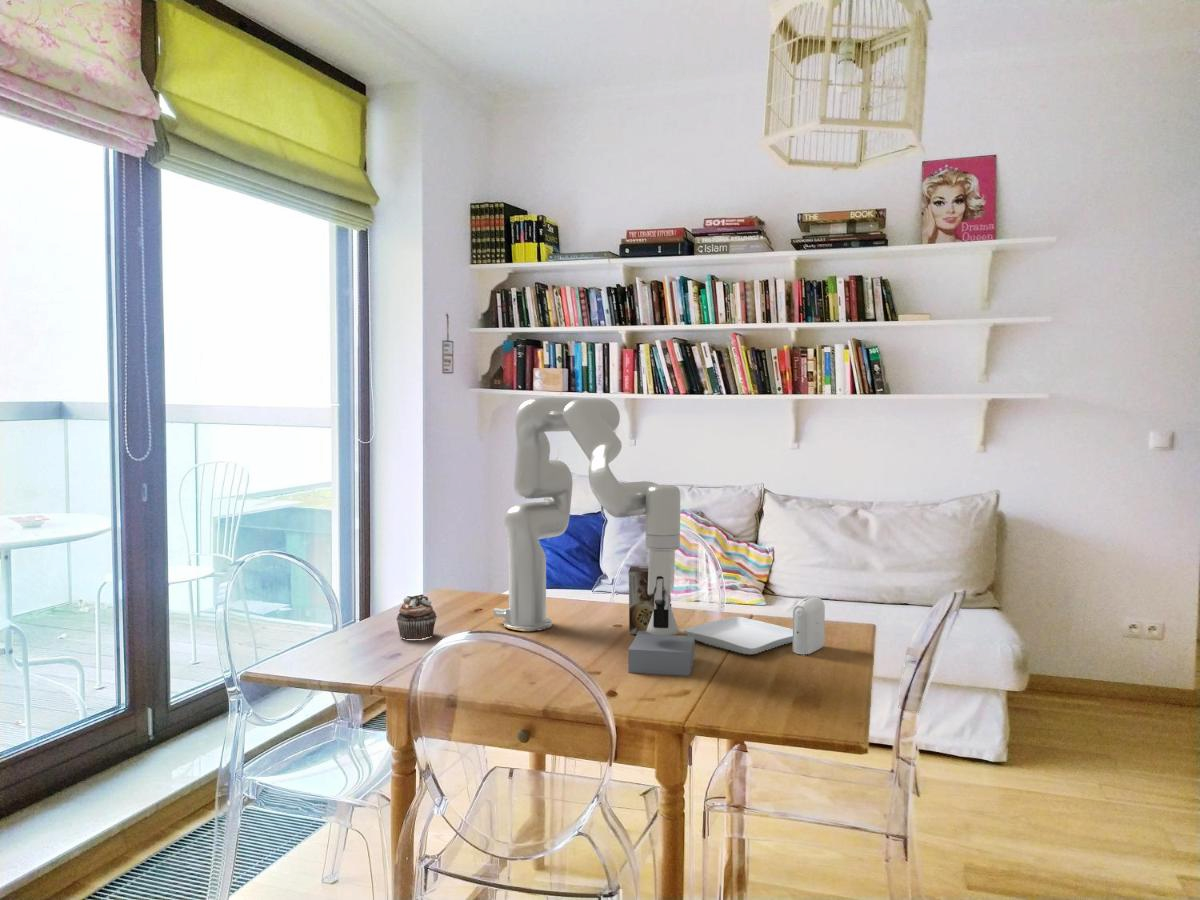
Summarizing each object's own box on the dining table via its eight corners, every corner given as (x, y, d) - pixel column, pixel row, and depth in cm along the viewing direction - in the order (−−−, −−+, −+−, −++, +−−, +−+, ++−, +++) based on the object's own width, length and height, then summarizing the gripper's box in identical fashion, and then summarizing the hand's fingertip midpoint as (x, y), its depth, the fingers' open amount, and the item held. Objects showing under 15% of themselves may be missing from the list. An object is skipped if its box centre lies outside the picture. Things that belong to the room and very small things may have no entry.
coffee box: (665, 629, 225) (666, 566, 224) (665, 635, 218) (665, 571, 218) (629, 628, 226) (630, 565, 225) (628, 634, 219) (628, 570, 218)
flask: (643, 628, 197) (644, 583, 197) (676, 627, 198) (676, 583, 197) (648, 637, 190) (648, 590, 189) (681, 636, 191) (682, 590, 190)
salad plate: (806, 644, 212) (806, 630, 212) (752, 662, 198) (752, 647, 198) (736, 627, 228) (736, 614, 228) (680, 643, 213) (681, 629, 213)
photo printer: (807, 657, 201) (807, 603, 200) (789, 653, 203) (790, 600, 203) (826, 647, 209) (827, 595, 208) (809, 644, 211) (810, 592, 211)
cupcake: (389, 636, 218) (389, 596, 218) (424, 629, 224) (423, 590, 224) (408, 644, 211) (408, 602, 210) (444, 637, 217) (443, 596, 217)
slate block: (628, 672, 189) (628, 649, 189) (637, 655, 202) (637, 633, 202) (689, 676, 187) (689, 652, 186) (694, 658, 200) (694, 636, 199)
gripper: (650, 535, 202) (650, 614, 203) (640, 547, 185) (639, 633, 186) (683, 536, 200) (683, 615, 201) (676, 548, 184) (675, 635, 185)
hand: (662, 623), depth 194 cm, fingers closed on flask, 4 cm apart
